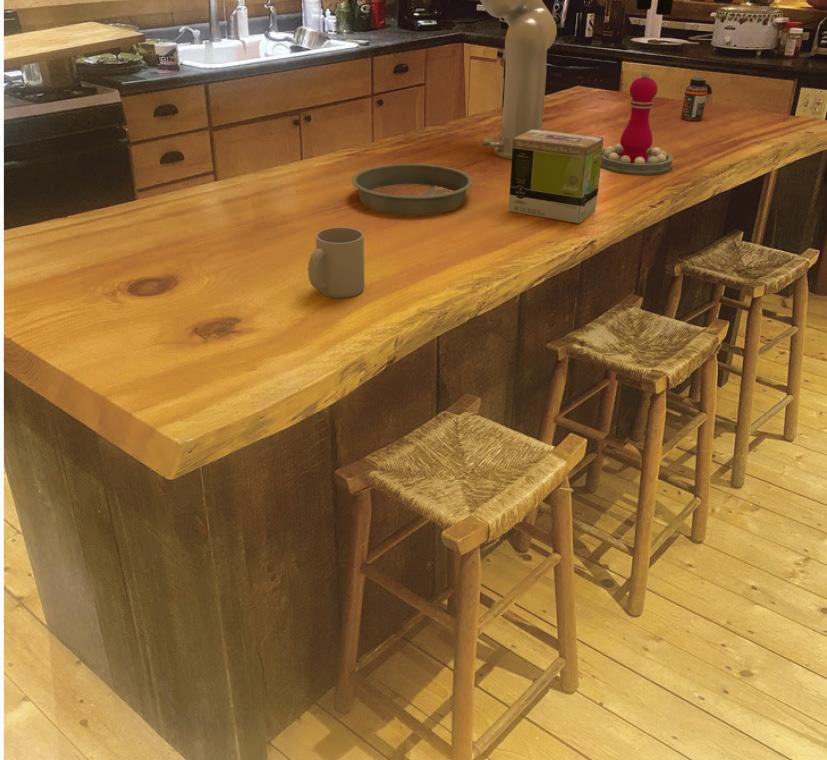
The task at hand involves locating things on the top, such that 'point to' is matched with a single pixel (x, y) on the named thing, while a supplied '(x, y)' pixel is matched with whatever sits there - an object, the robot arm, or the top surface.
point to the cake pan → (412, 175)
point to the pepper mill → (639, 119)
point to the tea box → (555, 175)
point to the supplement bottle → (694, 100)
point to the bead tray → (636, 167)
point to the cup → (338, 262)
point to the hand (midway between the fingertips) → (653, 11)
